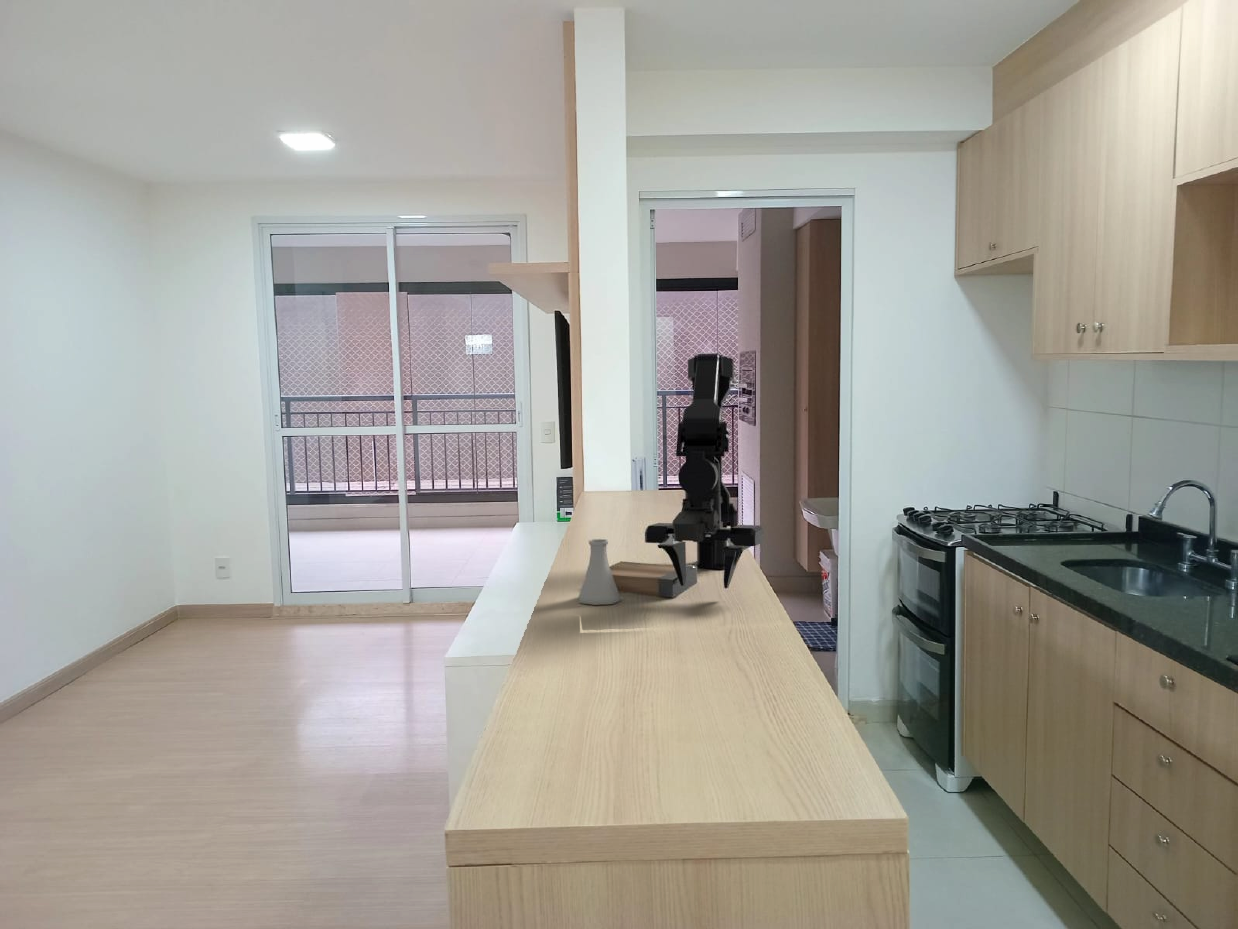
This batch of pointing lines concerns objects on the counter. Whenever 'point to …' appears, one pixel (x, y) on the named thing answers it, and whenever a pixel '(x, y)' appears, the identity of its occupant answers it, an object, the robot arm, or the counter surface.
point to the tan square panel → (639, 577)
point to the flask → (598, 577)
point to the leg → (677, 582)
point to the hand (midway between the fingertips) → (704, 586)
